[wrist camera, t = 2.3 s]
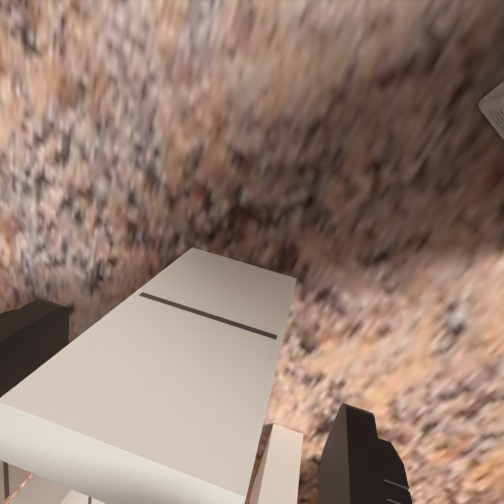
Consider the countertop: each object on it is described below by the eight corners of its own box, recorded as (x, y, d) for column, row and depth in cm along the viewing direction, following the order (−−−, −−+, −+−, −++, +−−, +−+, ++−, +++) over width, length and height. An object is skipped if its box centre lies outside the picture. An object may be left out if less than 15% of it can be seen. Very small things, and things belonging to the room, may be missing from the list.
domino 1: (117, 435, 21) (-53, 675, 12) (124, 371, 19) (-70, 591, 10) (141, 444, 21) (-13, 696, 11) (151, 380, 19) (-22, 615, 10)
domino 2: (287, 309, 16) (228, 553, 6) (186, 278, 16) (-1, 460, 7) (297, 278, 15) (246, 497, 6) (192, 247, 16) (-4, 400, 7)
